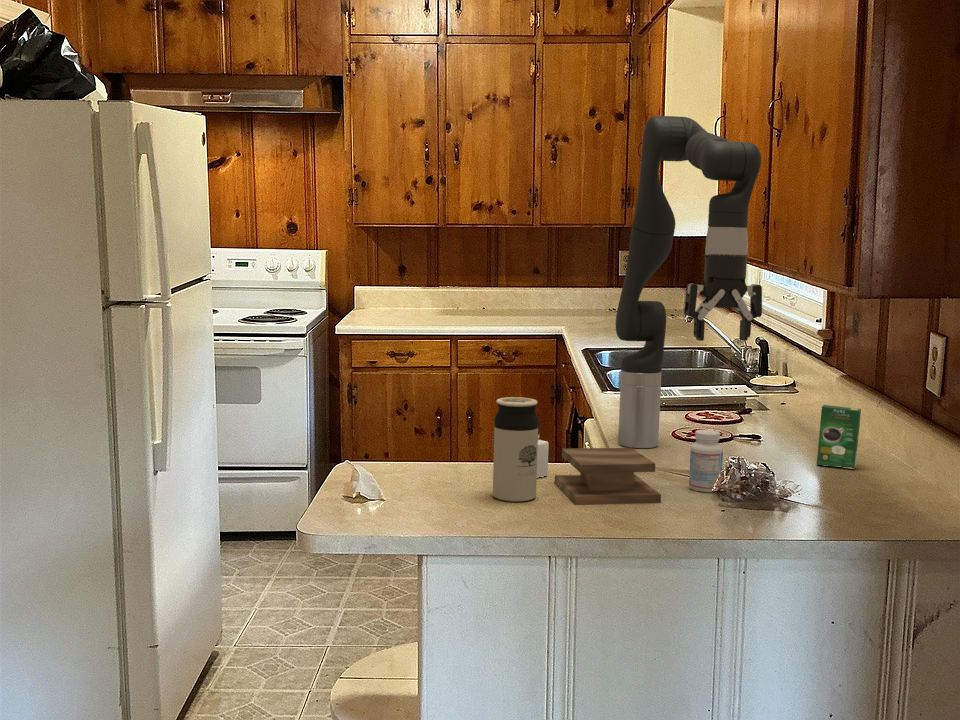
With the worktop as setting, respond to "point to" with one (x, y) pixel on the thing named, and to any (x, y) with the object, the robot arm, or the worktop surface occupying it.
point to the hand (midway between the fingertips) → (721, 340)
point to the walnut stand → (607, 476)
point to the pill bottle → (705, 460)
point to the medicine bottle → (542, 456)
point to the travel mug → (515, 450)
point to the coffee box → (838, 436)
